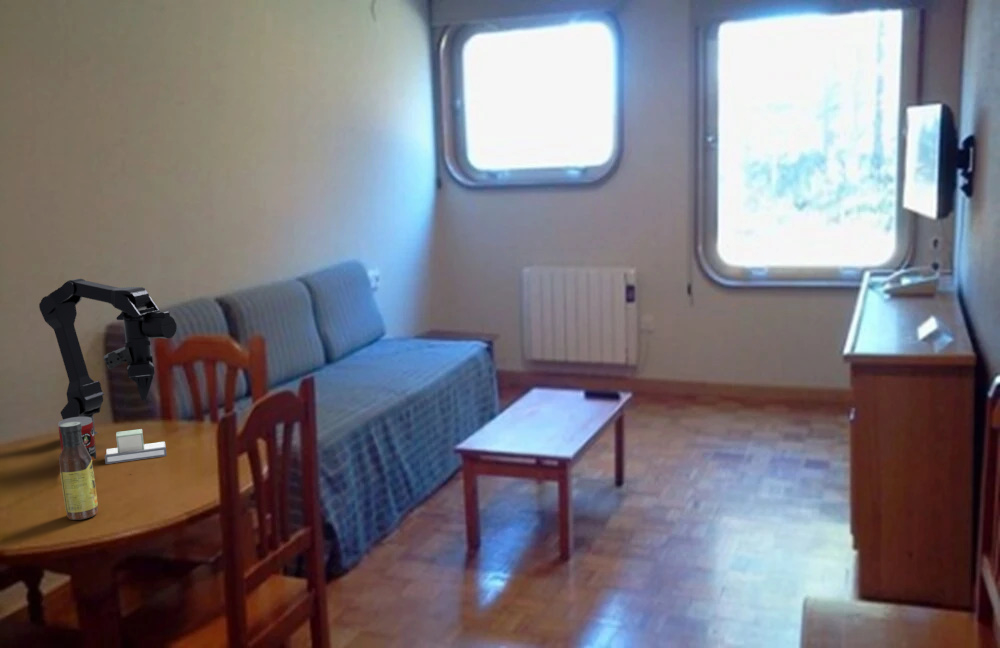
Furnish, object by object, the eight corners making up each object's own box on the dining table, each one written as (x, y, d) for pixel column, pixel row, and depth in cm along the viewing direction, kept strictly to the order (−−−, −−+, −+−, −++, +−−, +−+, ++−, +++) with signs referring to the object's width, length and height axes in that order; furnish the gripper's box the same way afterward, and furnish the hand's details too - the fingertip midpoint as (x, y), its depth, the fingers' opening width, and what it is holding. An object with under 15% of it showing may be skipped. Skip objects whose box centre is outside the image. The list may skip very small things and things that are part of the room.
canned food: (73, 471, 224) (68, 426, 222) (56, 465, 229) (51, 422, 227) (103, 462, 230) (98, 419, 228) (86, 456, 235) (81, 414, 233)
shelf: (107, 452, 238) (105, 441, 237) (165, 445, 243) (163, 434, 242) (105, 467, 226) (104, 456, 225) (167, 459, 231) (165, 447, 230)
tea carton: (118, 455, 232) (116, 432, 231) (144, 451, 234) (142, 428, 233) (118, 460, 228) (116, 436, 227) (144, 456, 230) (142, 433, 229)
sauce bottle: (104, 514, 195) (93, 423, 192) (74, 524, 190) (63, 430, 187) (89, 507, 199) (79, 418, 196) (60, 516, 195) (49, 424, 191)
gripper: (104, 334, 245) (110, 391, 247) (102, 346, 227) (109, 408, 230) (149, 330, 249) (155, 386, 251) (151, 342, 231) (157, 402, 234)
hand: (143, 396), depth 242 cm, fingers open, 9 cm apart
